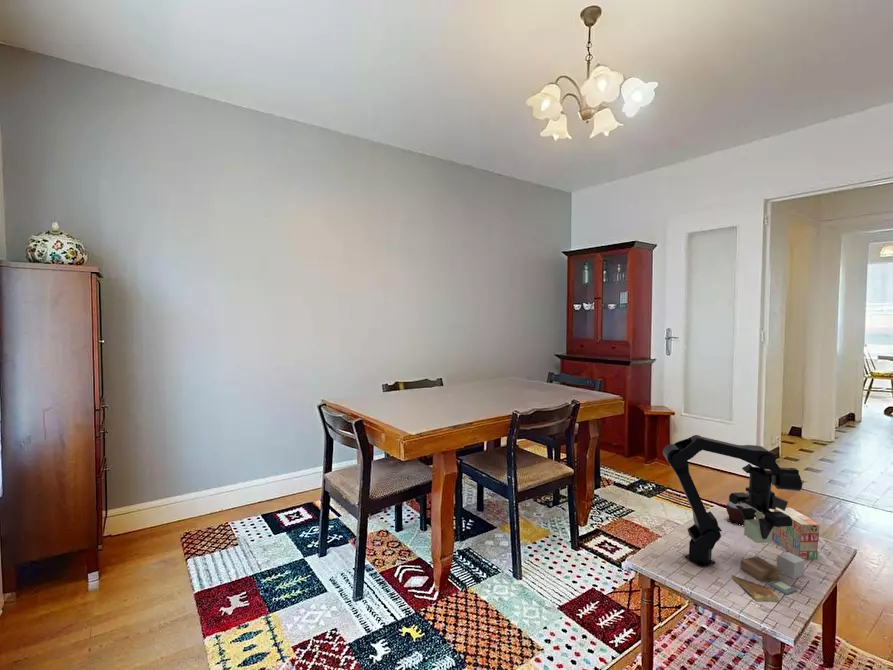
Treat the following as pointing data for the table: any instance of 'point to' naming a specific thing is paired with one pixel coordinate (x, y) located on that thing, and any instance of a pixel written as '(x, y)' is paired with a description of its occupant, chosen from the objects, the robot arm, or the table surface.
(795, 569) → the grey cube
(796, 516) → the stack of blocks
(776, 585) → the card
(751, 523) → the sage cube
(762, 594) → the shard
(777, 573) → the walnut block
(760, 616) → the table surface
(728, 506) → the mate gourd
